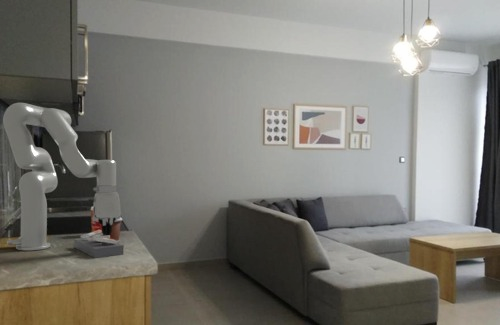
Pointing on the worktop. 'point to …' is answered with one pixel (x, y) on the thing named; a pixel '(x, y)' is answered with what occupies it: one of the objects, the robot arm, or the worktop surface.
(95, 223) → the paper cup
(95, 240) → the rocker near
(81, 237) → the plate
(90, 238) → the rocker middle
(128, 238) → the worktop surface
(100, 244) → the rocker switch panel
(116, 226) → the coffee cup
